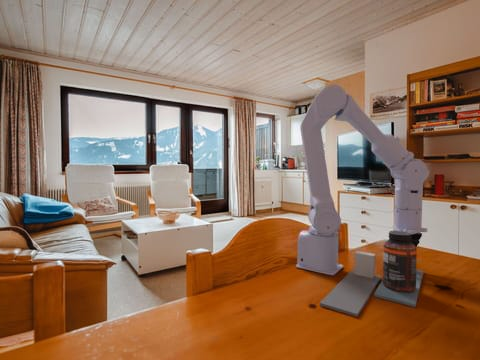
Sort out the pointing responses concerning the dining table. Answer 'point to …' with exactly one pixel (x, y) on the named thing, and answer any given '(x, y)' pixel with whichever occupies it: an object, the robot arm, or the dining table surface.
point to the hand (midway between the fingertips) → (406, 264)
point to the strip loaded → (398, 296)
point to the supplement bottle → (399, 262)
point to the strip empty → (354, 286)
